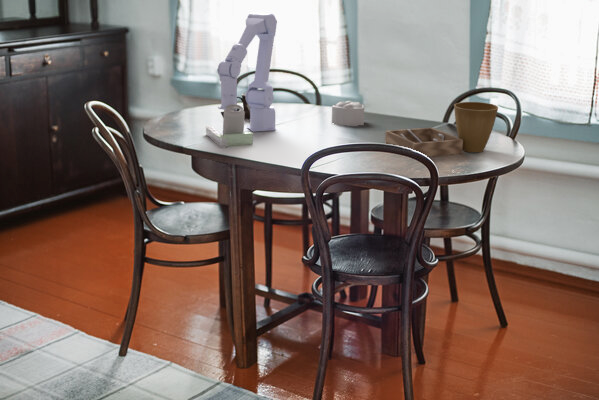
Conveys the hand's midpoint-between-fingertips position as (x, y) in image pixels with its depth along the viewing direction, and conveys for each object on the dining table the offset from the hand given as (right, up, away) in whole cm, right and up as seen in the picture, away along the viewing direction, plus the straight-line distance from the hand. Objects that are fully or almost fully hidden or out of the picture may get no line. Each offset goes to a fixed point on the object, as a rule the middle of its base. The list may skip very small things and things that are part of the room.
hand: (229, 131), depth 280 cm
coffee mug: (+5, +9, +37) cm, 38 cm away
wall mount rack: (+69, -7, -10) cm, 70 cm away
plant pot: (+87, -8, -12) cm, 88 cm away
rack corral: (+69, -7, -12) cm, 71 cm away
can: (+2, -3, -2) cm, 4 cm away
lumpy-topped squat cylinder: (+46, +6, +29) cm, 54 cm away
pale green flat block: (+1, -3, -2) cm, 4 cm away
